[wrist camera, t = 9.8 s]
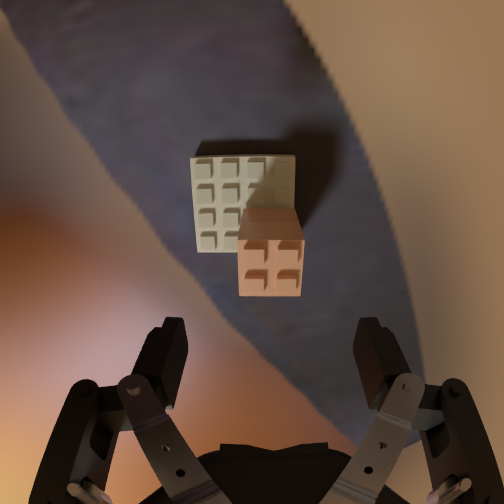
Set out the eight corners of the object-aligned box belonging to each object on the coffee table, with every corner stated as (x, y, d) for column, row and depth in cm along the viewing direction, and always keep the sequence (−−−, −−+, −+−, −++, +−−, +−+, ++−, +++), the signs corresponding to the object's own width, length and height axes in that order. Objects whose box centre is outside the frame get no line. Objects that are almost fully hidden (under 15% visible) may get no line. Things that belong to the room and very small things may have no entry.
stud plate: (193, 156, 23) (188, 159, 22) (293, 154, 23) (295, 157, 22) (200, 246, 27) (196, 254, 25) (291, 246, 26) (292, 254, 25)
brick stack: (243, 208, 23) (236, 243, 18) (294, 208, 23) (305, 243, 17) (244, 254, 25) (238, 300, 19) (292, 255, 25) (301, 300, 19)
